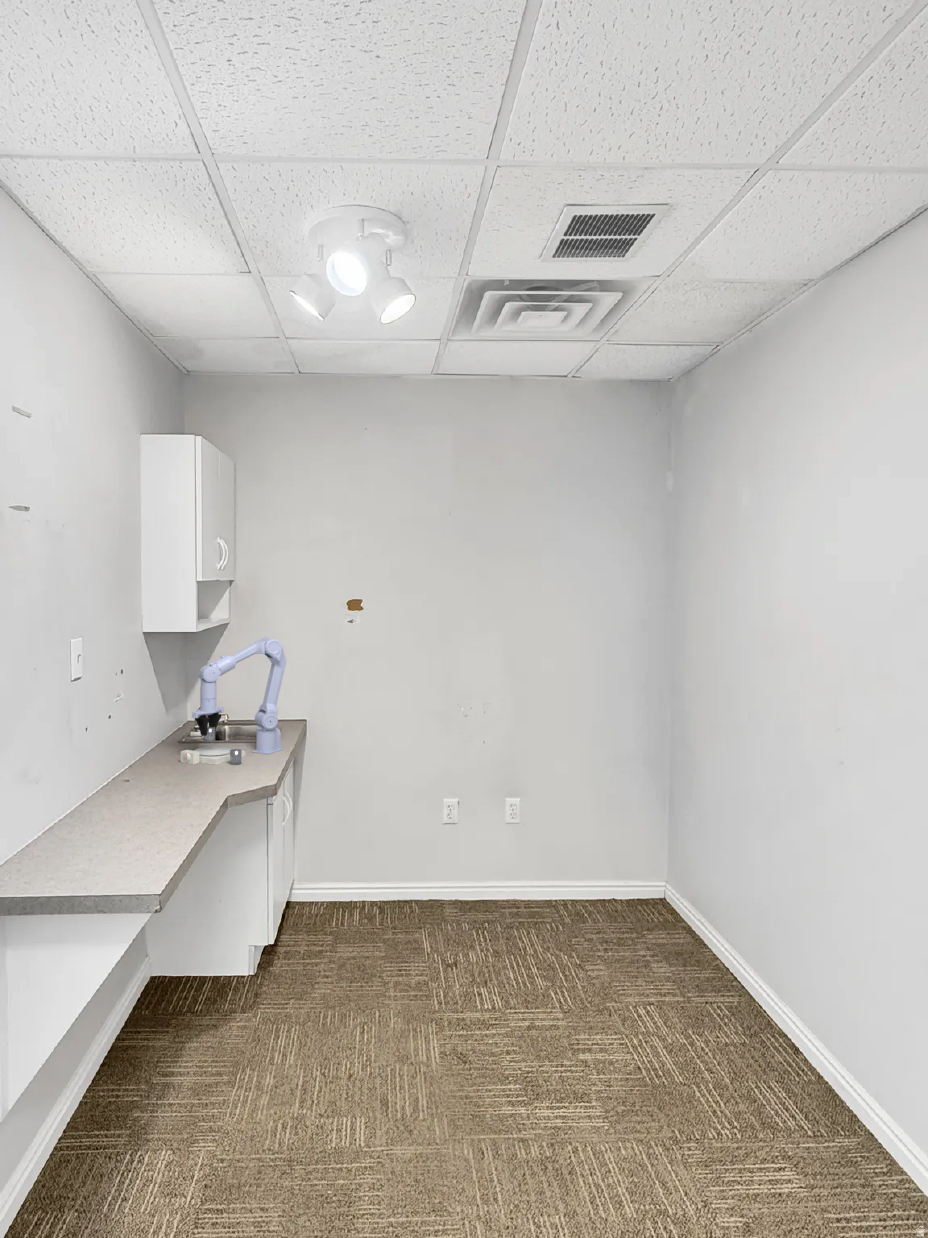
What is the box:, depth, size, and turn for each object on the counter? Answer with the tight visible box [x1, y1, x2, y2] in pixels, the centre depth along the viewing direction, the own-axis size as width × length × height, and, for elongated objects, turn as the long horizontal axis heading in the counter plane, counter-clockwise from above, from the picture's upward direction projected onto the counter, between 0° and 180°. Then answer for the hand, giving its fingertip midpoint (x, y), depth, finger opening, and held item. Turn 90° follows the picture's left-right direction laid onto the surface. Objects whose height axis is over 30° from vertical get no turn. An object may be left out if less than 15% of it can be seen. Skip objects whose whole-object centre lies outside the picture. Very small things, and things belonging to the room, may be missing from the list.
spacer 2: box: [229, 748, 243, 766], centre depth 303 cm, size 4×4×5 cm
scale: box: [180, 745, 246, 765], centre depth 309 cm, size 20×16×4 cm
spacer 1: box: [203, 725, 216, 743], centre depth 312 cm, size 4×4×5 cm
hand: (207, 734), depth 312 cm, fingers closed on spacer 1, 4 cm apart
